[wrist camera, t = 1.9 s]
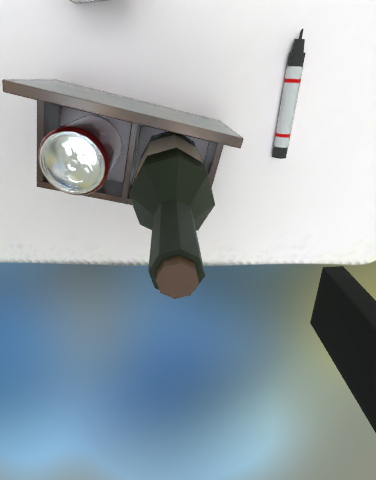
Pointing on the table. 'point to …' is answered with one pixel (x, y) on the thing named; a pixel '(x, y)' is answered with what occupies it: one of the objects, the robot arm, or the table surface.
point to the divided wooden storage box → (121, 108)
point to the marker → (289, 98)
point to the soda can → (80, 155)
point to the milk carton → (78, 0)
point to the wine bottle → (173, 210)
